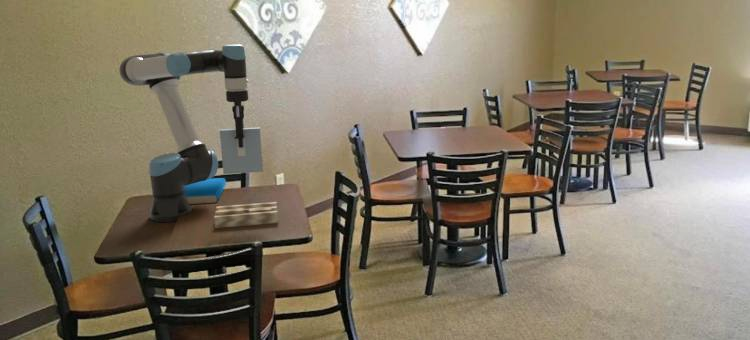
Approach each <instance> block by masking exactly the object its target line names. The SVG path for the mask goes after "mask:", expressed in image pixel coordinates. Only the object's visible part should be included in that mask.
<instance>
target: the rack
mask: <svg viewBox="0 0 750 340" xmlns="http://www.w3.org/2000/svg"><path fill="white" fill-rule="evenodd" d="M277 203H278V202H277V201H270V202H261V203H260V202H259V203H246V204H245V203H244V204H233V205H232V204H231V205H221V206H220V205H219V206H216V210H215V212H214V214H215V215H214V217H213V218H214V219H213V220H214V227H215V229H218V228H219V229H220V228H230V227H243V226H244V227H245V226H255V225H267V224H278V223H279V216H278V205H277ZM267 207H271V209H272V211H268V212H256V213H249V209H255V208H267ZM238 208H243V210H244V213H243V214H231V215H219V216H218V214H217V212H218V210H226V209H238Z"/></svg>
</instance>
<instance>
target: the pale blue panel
mask: <svg viewBox="0 0 750 340" xmlns="http://www.w3.org/2000/svg"><path fill="white" fill-rule="evenodd" d="M243 133H244V140H245V152H246V156H238V150H237V139H235V137H236V128H224V129H221V128H220V129H219V137H220V138H219V139H220V140H219V141H220V149H221V150H220V152H221V160H222V161H221V162H222V173H223V175H235V174H245V173H246V174H247V173H249V174H250V173H262V172H264V166H263V153H262V151H263V150H262V140H261V139H262V137H261V127H246V128H245V127H244V128H243Z"/></svg>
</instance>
